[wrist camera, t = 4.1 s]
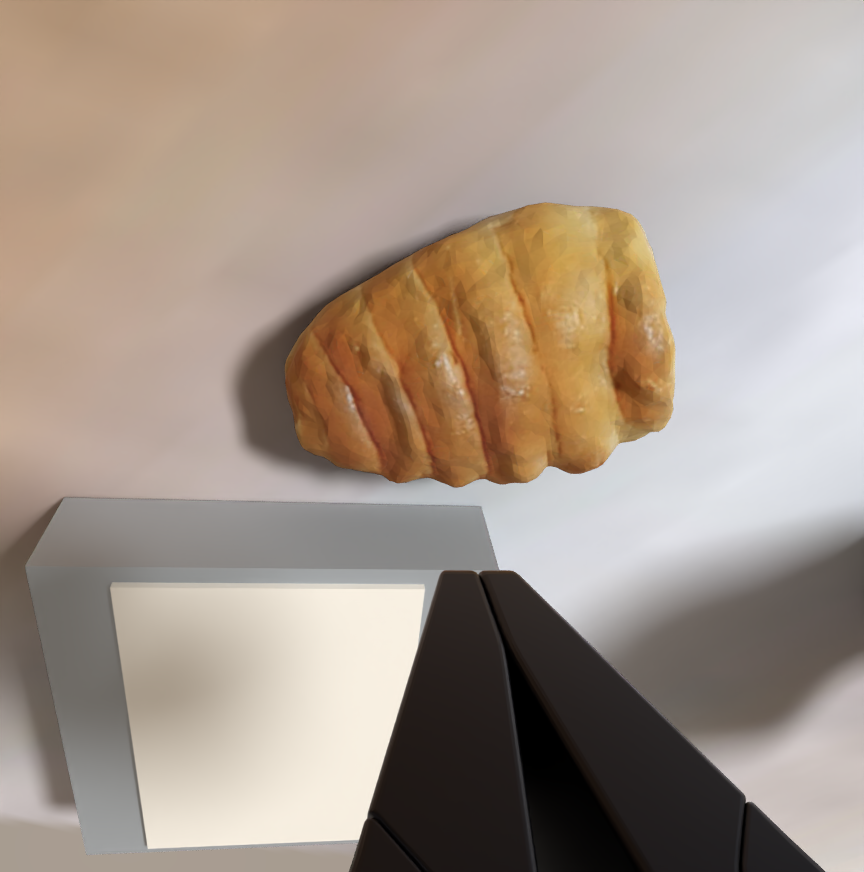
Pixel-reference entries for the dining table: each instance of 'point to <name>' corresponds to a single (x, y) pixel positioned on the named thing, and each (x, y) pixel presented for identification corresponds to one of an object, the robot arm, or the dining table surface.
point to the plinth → (235, 660)
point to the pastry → (492, 353)
